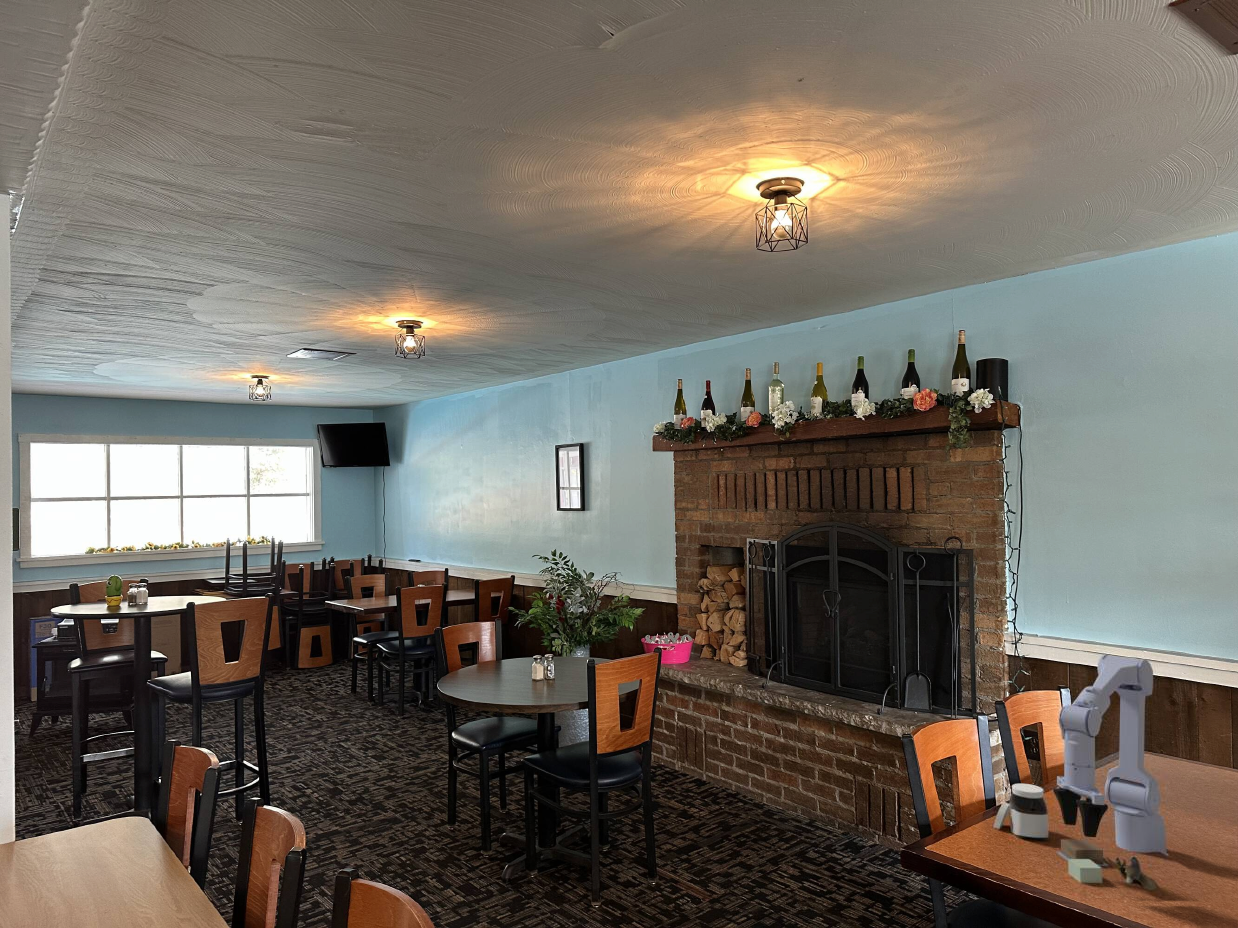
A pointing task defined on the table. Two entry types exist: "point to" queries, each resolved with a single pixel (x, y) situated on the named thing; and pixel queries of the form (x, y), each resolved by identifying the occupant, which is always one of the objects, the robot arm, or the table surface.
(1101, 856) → the walnut block
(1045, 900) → the table surface
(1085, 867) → the green block
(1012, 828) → the spread jar
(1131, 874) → the eagle figurine
